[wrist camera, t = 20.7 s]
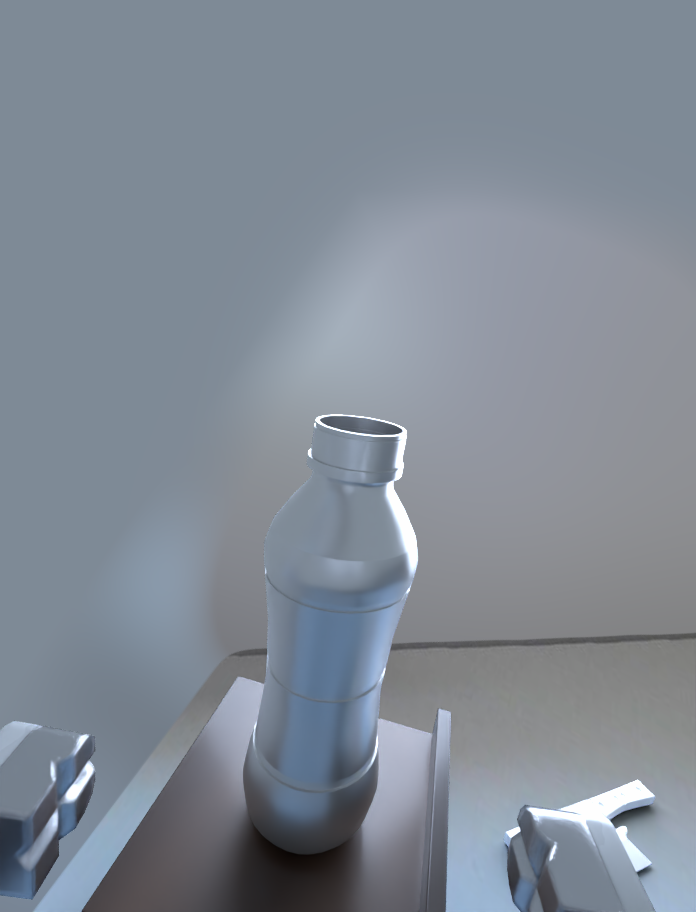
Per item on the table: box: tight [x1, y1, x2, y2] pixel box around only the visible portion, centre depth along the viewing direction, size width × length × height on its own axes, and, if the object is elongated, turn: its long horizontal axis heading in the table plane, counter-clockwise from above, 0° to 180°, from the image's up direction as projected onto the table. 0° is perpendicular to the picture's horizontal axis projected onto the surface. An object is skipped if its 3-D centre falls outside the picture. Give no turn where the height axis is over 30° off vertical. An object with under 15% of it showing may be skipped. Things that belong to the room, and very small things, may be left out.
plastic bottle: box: [243, 415, 418, 854], centre depth 21 cm, size 6×7×20 cm
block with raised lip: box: [82, 676, 451, 912], centre depth 25 cm, size 14×14×14 cm
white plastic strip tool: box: [503, 780, 655, 872], centre depth 37 cm, size 5×15×1 cm, turn 112°
